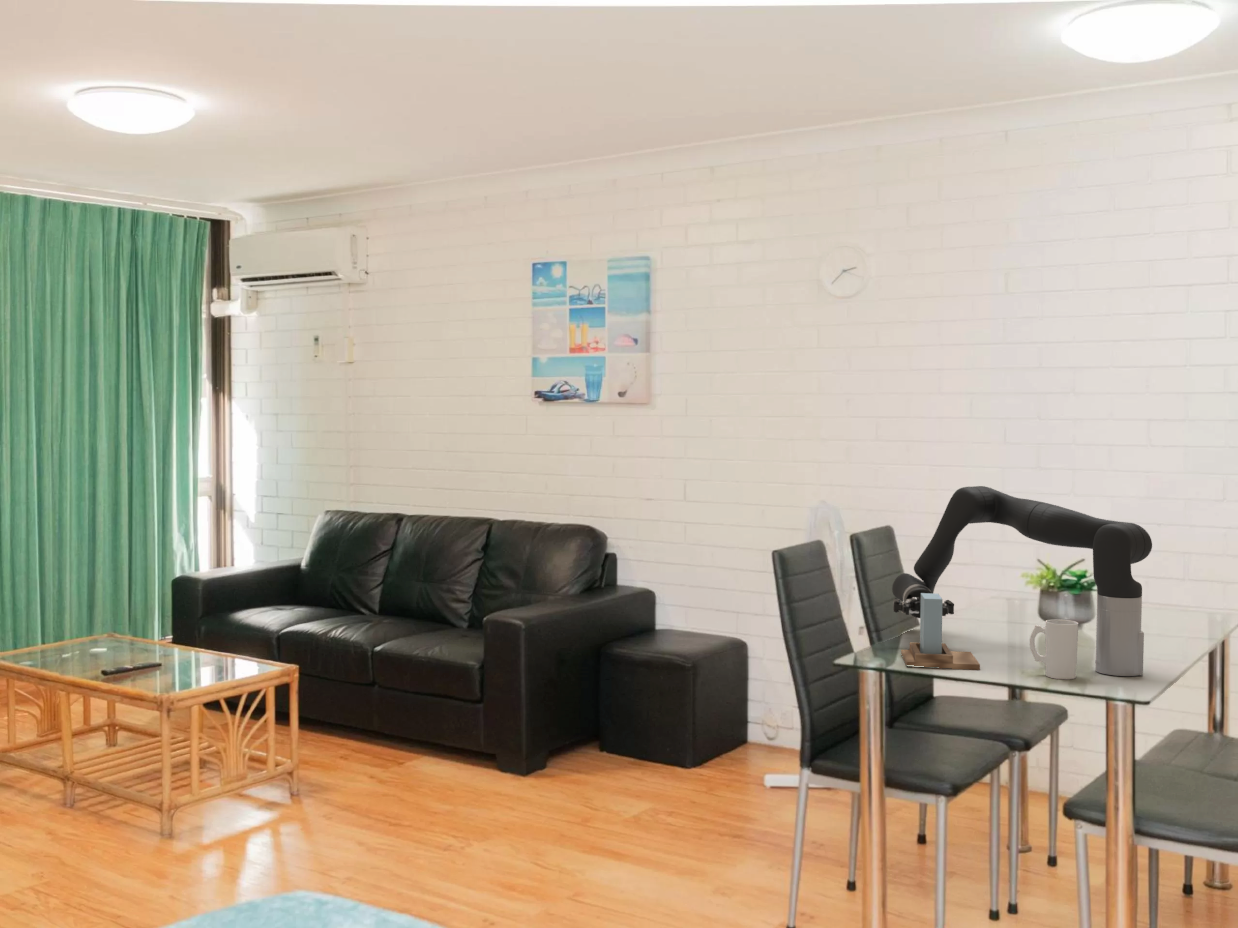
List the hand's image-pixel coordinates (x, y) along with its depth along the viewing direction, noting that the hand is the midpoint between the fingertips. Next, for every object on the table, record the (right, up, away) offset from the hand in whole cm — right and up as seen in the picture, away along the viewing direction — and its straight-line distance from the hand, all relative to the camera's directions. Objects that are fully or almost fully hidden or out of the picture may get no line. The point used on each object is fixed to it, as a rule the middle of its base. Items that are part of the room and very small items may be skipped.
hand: (926, 611), depth 291 cm
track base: (+1, -11, -9) cm, 14 cm away
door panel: (-1, -9, -9) cm, 13 cm away
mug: (+22, -12, -23) cm, 34 cm away
